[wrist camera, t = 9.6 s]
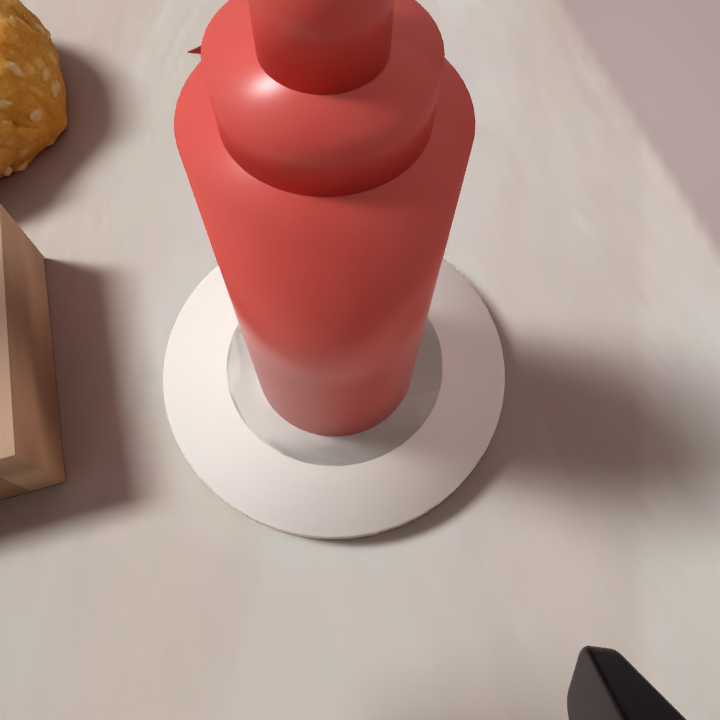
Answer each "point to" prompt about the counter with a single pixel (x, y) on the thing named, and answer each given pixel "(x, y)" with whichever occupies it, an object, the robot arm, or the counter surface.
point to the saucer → (334, 453)
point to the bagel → (27, 88)
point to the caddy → (26, 369)
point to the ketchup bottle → (327, 192)
